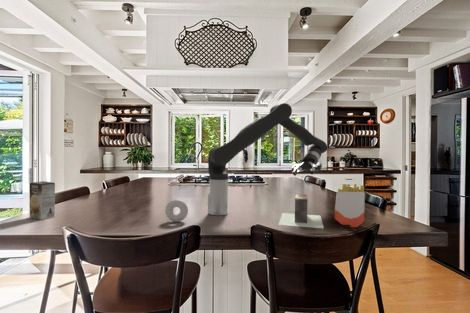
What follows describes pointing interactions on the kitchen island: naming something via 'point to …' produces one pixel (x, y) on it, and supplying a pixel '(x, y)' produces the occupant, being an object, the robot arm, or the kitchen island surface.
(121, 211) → the kitchen island surface
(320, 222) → the sage mat
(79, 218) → the kitchen island surface
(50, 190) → the coffee box
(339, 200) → the french fries container
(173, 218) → the donut
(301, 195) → the maple block
